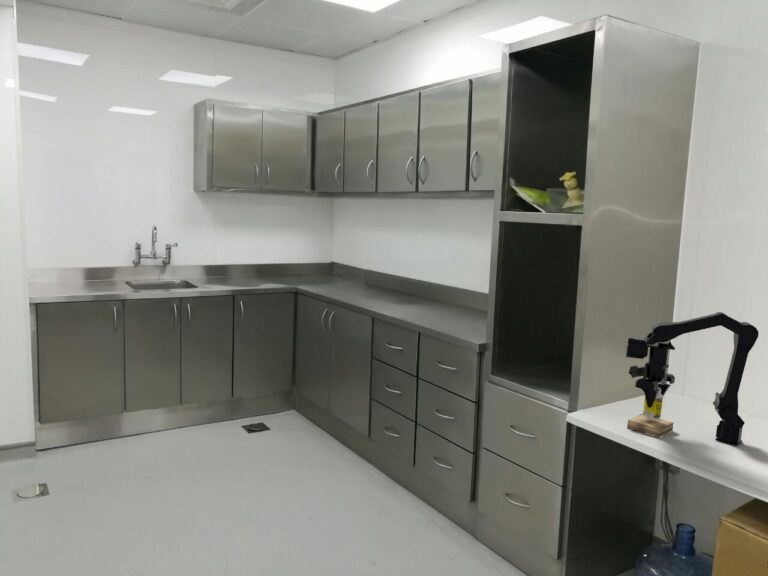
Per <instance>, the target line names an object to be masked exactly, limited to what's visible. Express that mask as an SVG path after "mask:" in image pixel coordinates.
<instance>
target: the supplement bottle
mask: <svg viewBox="0 0 768 576" xmlns="http://www.w3.org/2000/svg"><path fill="white" fill-rule="evenodd" d="M658 389H659V390H660V391H659V393H658V395H657V397H656V399H655V401H654V403H653V405H652V407H651V408H649V407H647V402H646V397H645V396H644V400H643V401H644V402H643V409H642V414H643V416H644V417H646V418H649V419H661V416H662V407H663V398H664V396H663V395H662V394H661V388H658Z"/></svg>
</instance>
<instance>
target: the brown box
mask: <svg viewBox="0 0 768 576" xmlns="http://www.w3.org/2000/svg"><path fill="white" fill-rule="evenodd" d="M626 428H627V429H628V430H631V429H632V430H631V431H634V430H636V431H635V432H638V431H639V433H641V432H643V433H642V434H645V433H647V434H646V435H648V434H650V435H649V436H652V435H654V436H653V437H655V436H657V437H656V438H659V437H660V438H662V437H664V436H666V435H668V434H670V433H672V432H674V431H673V430H674V422H673V421H671V420H670V421H669V420H666V419H663V418H659V419H649V418H646V417H644V416H643V413H640V414H637V415H636V416H634V417H631V418H629V419H628V420H627V427H626ZM671 431H672V432H671ZM669 432H670V433H669ZM667 433H668V434H667ZM665 434H666V435H665ZM663 435H664V436H663ZM661 436H662V437H661Z"/></svg>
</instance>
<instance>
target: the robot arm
mask: <svg viewBox="0 0 768 576" xmlns="http://www.w3.org/2000/svg"><path fill="white" fill-rule="evenodd" d="M720 326H721V327H723V328H725V329H726V330H728V331H731V332H732V333H733V350H732V351H733V352H732V355H731V360H730V363H729V367H728V371H727V373H726V374H727V375H726V379H725V381H724V382H725V383H724V388H723V389H722V391H721V392H720V393H719V392H715V397H714V401H712V404H713V407H714V410H715V412H716V413H717V414H718V416H719V417H720V419H721V420H720V421H719V422H718V424H717V425H716V429H715V430H716V432H715V441H717V442H721V443H723V444H728V445H730V446H731V445H732V446H735V447H737V446H739V445H740V444H741V443H743V440H742V435H743V434H742V433H743V429H744V428H743V426H744V425H745V421H744V420H743V418H742V417H741V416H740V415H739V390H740V387H741V383H742V379H743V376H744V375H743V374H744V372H745V369H746V368H745V367H746V364H747V360H748V356H749V353H750V352H751V350H752V349H753V347H754V346H755V344H756V342H757V339H758V338H759V335H760V333H759V330H758V329H757V327H756V326H754V325H753V324H751V323H749V322H747V321H742V322H741V321H739V320H737V319H735V318H732V317H730V316H729V315H727V314H726V313H724V312H723V311H722V312H721V311H717V312H715V313H712V314H708V315H704V316H703V315H702V316H699V317H694V318H690V319H686V320H682V321H670V322H669V321H667V322H657V323H655V324H653V325H652V327H651V330H650V332H649V333H648V334H647V335H646V336H645V337H644V338H643V339H641V338H634V337H627V343H626V345H625V346H626V347H625V358H630V359H639V360H643V359H644V358H646V357H648V362H646V363H644V365H642V366H638V365H631V366H629V369H628V374H629V375H630V376H631V378H632V379H634V378H635V379H636V378H637V377H642V378H639V379H637V380H636V381H635V384H634V385H635V386H634V387H635V388H638V389H640V390H642V391H643V393H644V398H645V397H646V402H647V407H649V408H651V407H652V405H653V403H654V401H655V399H656V397H657V395H658V393H659V391H660V390H659V389H658V388H661V394H662V395H663V397H664V395H666V393H667V392H668V390H669V389H670V388H671V385H672V384H675V381H676V377H675V375H673V374H671V373H667V369H668V368H670V367H669V366H670V365H669V364H668V356H669V350H670V351H671V350H673V351H675V350H676V347H675V346H674V345H673V344H672V342H671V340H674V339H675V338H678V337H680V336H682V335H684V334H688V333H693V332H698V331H702V330H706V329H707V330H708V329H711V328H715V327H720ZM648 353H649V354H648ZM668 382H669V384H668Z"/></svg>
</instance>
